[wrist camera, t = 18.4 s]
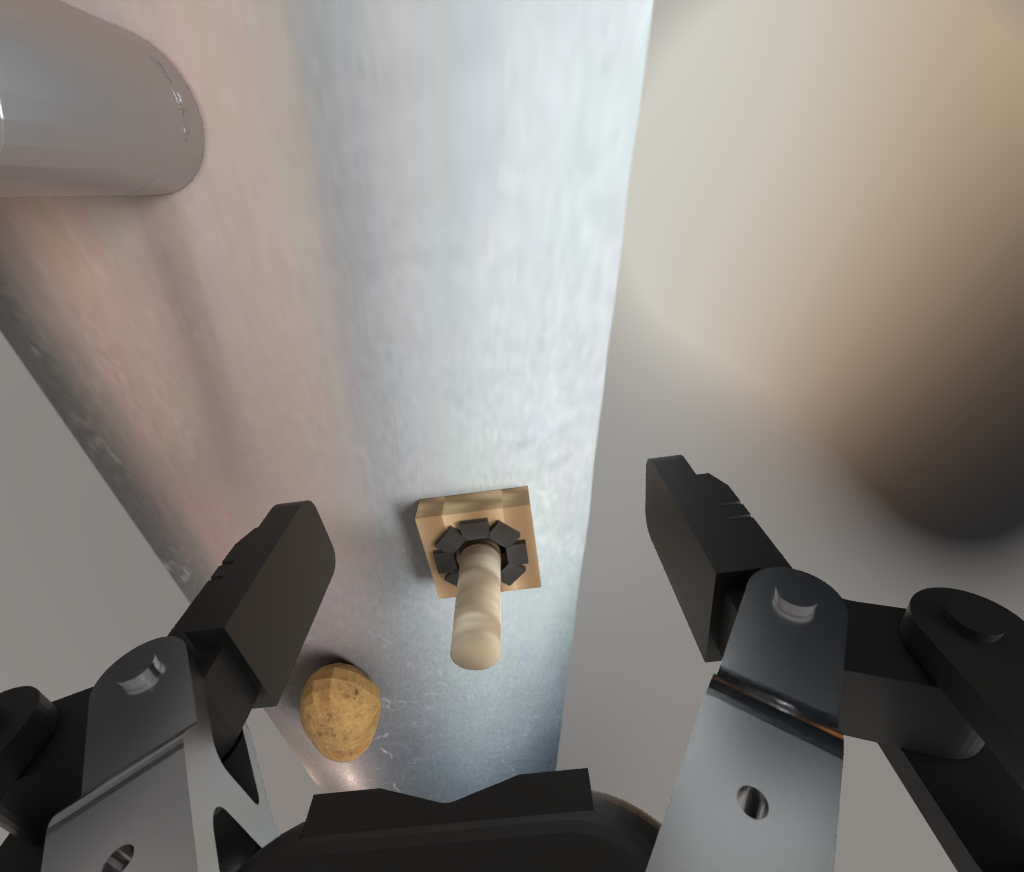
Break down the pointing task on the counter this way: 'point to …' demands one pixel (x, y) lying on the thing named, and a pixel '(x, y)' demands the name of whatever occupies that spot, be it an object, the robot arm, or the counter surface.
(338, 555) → the counter surface
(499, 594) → the dowel
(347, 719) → the potato
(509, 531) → the socket
